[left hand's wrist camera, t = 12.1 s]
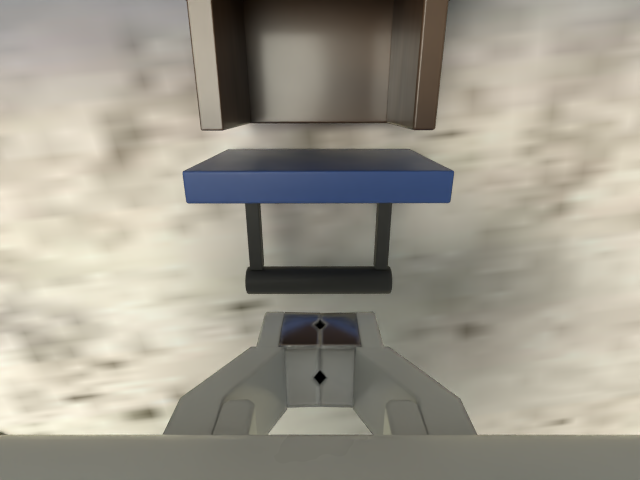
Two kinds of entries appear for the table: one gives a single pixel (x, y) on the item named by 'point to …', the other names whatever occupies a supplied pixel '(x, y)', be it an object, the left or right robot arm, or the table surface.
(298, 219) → the table surface
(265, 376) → the left robot arm
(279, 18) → the drawer
